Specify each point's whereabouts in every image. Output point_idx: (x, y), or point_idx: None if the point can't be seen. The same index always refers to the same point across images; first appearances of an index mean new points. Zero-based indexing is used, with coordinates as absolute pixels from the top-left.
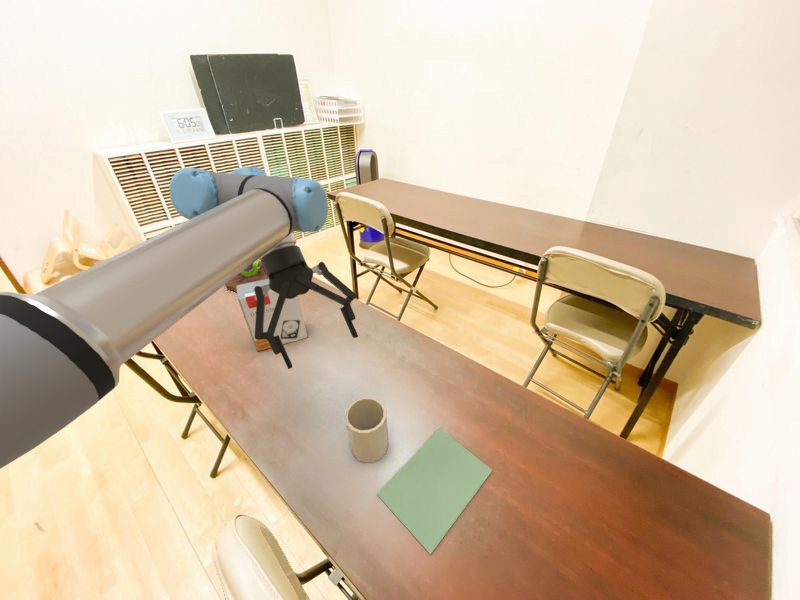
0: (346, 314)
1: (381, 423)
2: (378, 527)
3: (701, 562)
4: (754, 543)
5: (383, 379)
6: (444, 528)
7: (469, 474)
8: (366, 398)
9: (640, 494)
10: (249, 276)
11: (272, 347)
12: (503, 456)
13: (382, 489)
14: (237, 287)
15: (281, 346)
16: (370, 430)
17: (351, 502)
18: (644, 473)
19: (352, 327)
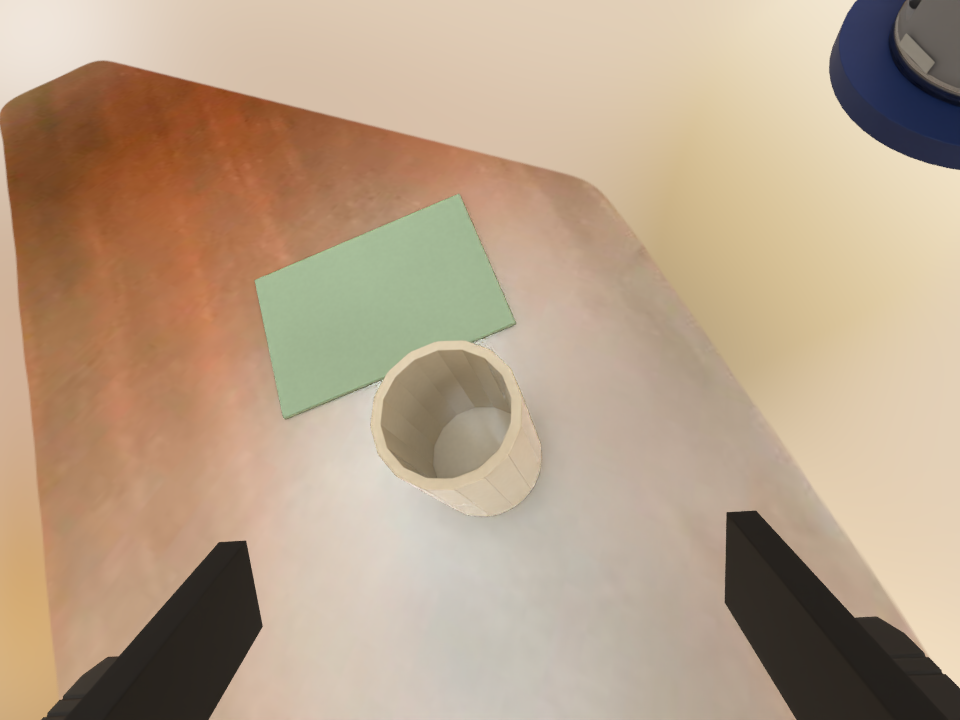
0: (112, 686)
1: (411, 355)
2: (536, 264)
3: (120, 93)
4: (45, 92)
5: (331, 702)
6: (412, 219)
7: (301, 288)
8: (415, 476)
9: (85, 172)
10: None
11: (933, 677)
12: (212, 300)
13: (498, 325)
14: None
15: (833, 627)
16: (454, 344)
17: (580, 329)
18: (43, 193)
19: (190, 590)
